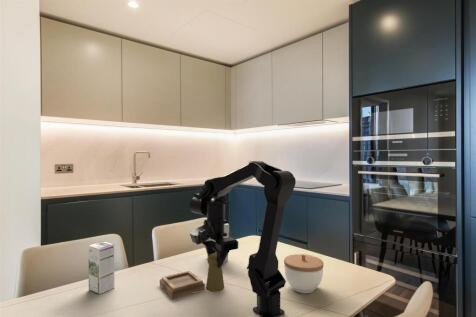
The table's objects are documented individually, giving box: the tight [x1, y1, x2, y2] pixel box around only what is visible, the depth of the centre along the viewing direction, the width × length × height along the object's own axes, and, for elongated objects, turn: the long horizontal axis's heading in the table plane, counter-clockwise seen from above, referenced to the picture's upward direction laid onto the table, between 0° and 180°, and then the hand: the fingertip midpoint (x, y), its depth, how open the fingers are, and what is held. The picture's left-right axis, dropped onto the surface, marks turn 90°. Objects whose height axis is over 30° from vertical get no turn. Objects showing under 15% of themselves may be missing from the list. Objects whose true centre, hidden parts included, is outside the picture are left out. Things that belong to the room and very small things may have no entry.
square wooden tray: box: [159, 270, 206, 300], centre depth 96 cm, size 11×11×3 cm
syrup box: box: [87, 241, 115, 295], centre depth 94 cm, size 6×6×14 cm
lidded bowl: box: [283, 253, 324, 294], centre depth 96 cm, size 13×13×11 cm
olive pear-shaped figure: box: [205, 253, 225, 293], centre depth 96 cm, size 6×6×11 cm
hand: (215, 264), depth 96 cm, fingers closed on olive pear-shaped figure, 5 cm apart
